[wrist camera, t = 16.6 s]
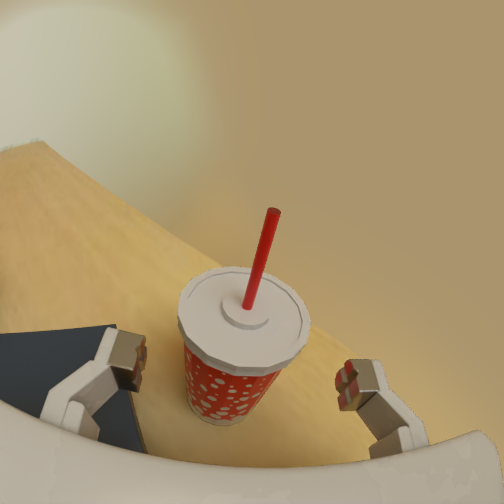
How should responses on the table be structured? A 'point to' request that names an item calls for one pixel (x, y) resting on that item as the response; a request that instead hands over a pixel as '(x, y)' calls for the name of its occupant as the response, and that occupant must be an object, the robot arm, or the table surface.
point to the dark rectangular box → (56, 370)
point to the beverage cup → (238, 334)
